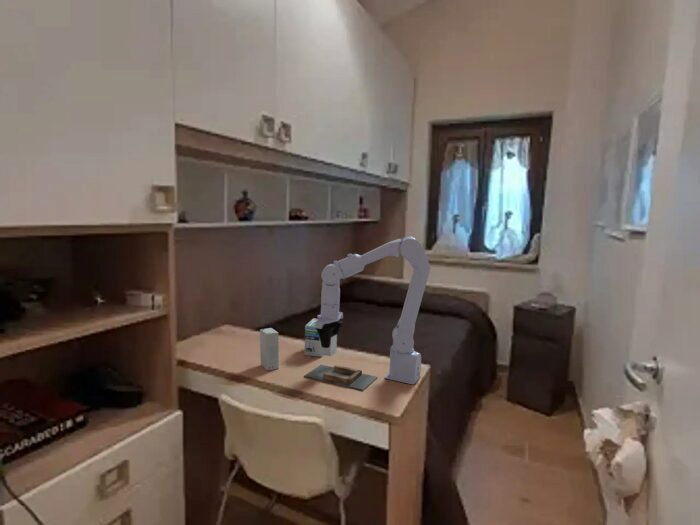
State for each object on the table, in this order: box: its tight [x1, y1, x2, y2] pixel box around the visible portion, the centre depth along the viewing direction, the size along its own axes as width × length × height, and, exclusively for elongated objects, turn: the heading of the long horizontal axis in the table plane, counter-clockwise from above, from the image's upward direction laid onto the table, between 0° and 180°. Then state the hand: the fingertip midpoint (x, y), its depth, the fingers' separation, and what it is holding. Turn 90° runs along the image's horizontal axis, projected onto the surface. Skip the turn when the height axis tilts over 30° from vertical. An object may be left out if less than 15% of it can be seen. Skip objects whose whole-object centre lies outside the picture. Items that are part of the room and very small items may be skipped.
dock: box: [303, 364, 378, 392], centre depth 140 cm, size 20×11×2 cm, turn 65°
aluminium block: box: [319, 334, 338, 357], centre depth 142 cm, size 4×4×6 cm
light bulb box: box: [304, 318, 324, 358], centre depth 162 cm, size 11×7×11 cm, turn 168°
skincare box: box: [259, 327, 280, 371], centre depth 146 cm, size 6×4×12 cm
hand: (328, 345), depth 142 cm, fingers closed on aluminium block, 4 cm apart
